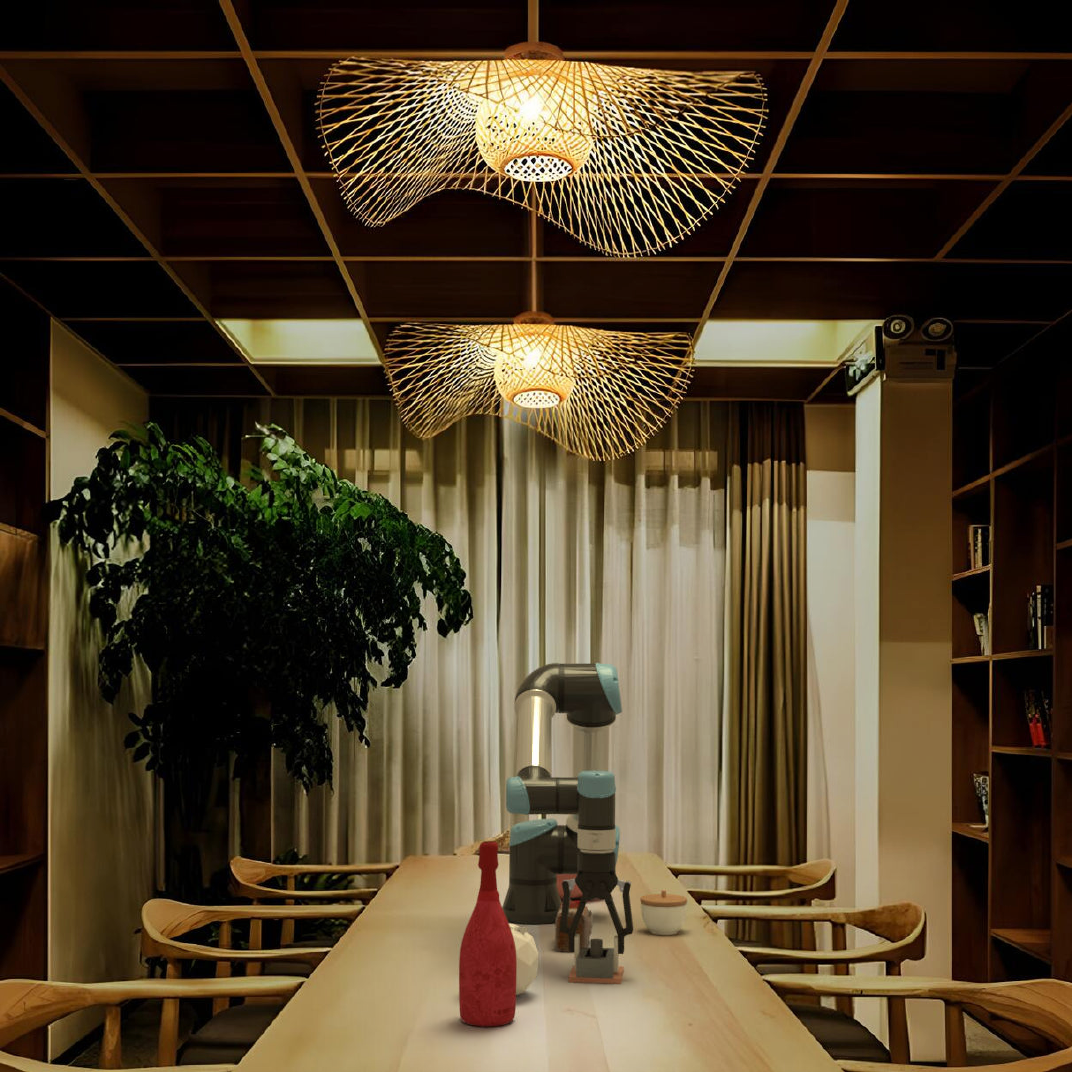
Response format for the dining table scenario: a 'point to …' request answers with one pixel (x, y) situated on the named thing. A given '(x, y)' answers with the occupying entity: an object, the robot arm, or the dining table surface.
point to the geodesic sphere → (524, 958)
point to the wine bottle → (487, 953)
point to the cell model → (560, 878)
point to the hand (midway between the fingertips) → (596, 970)
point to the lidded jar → (663, 912)
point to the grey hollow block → (595, 964)
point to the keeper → (617, 978)
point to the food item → (582, 929)
